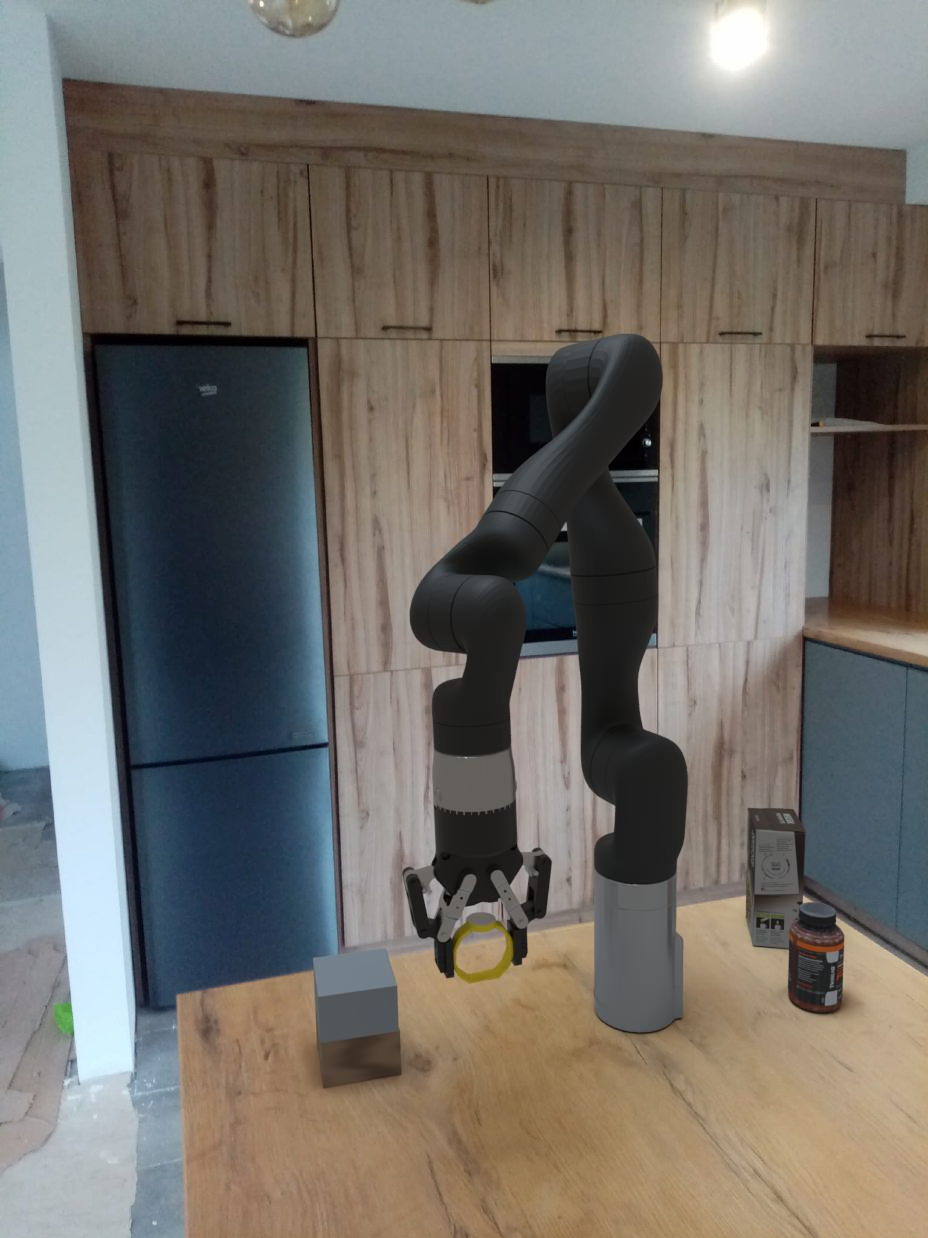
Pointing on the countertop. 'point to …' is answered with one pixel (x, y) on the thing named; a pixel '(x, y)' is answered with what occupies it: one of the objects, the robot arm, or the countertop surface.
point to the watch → (482, 924)
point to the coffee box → (773, 874)
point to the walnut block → (359, 1058)
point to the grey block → (355, 995)
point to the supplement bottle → (816, 959)
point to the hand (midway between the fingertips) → (481, 967)
